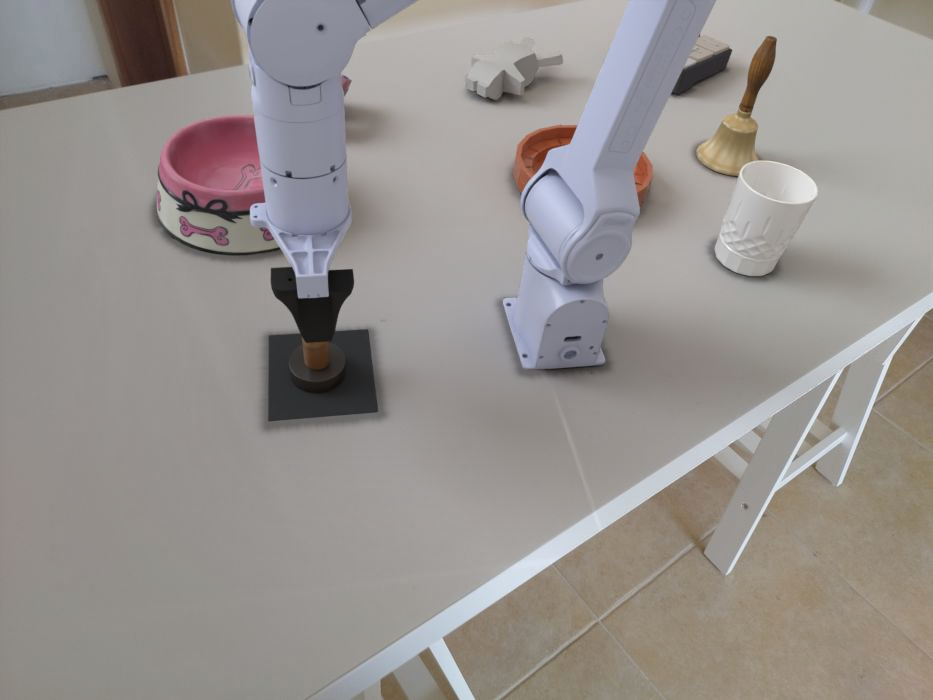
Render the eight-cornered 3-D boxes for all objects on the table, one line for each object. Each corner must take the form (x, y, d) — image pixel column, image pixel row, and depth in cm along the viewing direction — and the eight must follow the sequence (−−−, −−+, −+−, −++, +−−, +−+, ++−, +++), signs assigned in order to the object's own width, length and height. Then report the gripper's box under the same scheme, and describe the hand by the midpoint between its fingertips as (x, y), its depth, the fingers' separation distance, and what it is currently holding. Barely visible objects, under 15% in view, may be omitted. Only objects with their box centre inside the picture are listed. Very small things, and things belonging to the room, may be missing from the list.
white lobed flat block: (450, 58, 101) (522, 20, 108) (451, 92, 105) (520, 53, 112) (501, 84, 97) (572, 43, 104) (499, 118, 101) (568, 76, 108)
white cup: (695, 241, 83) (725, 165, 76) (751, 231, 86) (785, 156, 79) (735, 286, 79) (771, 208, 71) (794, 274, 81) (834, 197, 74)
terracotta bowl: (664, 222, 86) (673, 197, 83) (530, 228, 83) (534, 201, 80) (620, 148, 96) (626, 124, 94) (500, 150, 94) (503, 125, 91)
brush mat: (378, 414, 62) (378, 411, 62) (268, 423, 61) (268, 420, 60) (367, 331, 69) (367, 328, 69) (269, 338, 67) (268, 335, 67)
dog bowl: (356, 179, 86) (355, 126, 81) (288, 276, 74) (281, 219, 69) (212, 145, 89) (203, 92, 84) (122, 233, 76) (104, 176, 71)
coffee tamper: (347, 391, 63) (345, 333, 58) (290, 395, 62) (283, 337, 57) (344, 350, 67) (341, 293, 62) (289, 354, 66) (282, 296, 61)
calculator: (735, 44, 114) (686, 65, 105) (725, 71, 117) (677, 94, 108) (675, 20, 118) (623, 38, 110) (667, 46, 121) (616, 66, 113)
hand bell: (689, 164, 95) (731, 42, 84) (702, 136, 101) (744, 18, 89) (753, 183, 93) (805, 61, 82) (763, 154, 99) (813, 35, 87)
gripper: (244, 102, 53) (265, 250, 63) (237, 222, 43) (264, 376, 53) (342, 101, 55) (348, 246, 64) (357, 218, 45) (362, 368, 55)
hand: (316, 305), depth 59 cm, fingers open, 7 cm apart
